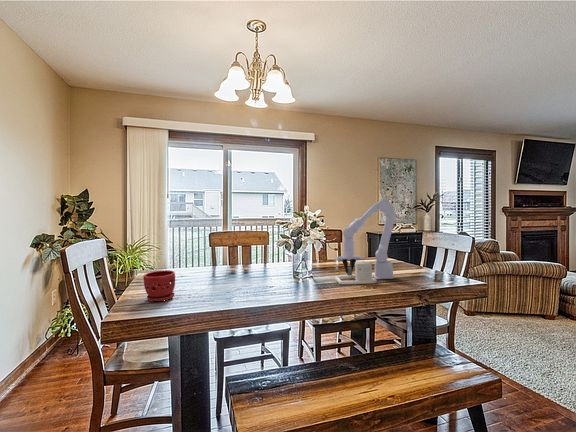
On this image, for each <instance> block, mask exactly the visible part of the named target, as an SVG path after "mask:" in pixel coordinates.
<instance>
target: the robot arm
mask: <svg viewBox="0 0 576 432" xmlns="http://www.w3.org/2000/svg"><path fill="white" fill-rule="evenodd" d="M380 210H381V211H382V212H383V214H384V215H385V220H384V225H383V226H384V227H383V230H382V234H381V237H380V241H379V245H378V248H377V250H375V260H374V275H373V274H372V278H374V279H376V280H388V279H389V280H391V279H393V280H394V265H393V264H394V263H393V262H392V261H388V257H389V256H388V249H389V243H390V239H391V236H392V231H393V228H394V223H395V219H396V215H397V214H396V212H395V210H394V208H393V205H392V203H391V202H390V201H389V200H388V199H386V198H381V199H380V200H378V202H376V203H374V204H373V205H372V206H370V207H369V208H368V209H367V210H366V212H364V214H363V215H362V216H361V217H356V218H354V219H352V222H351V223H350V224H348V225H347V228H345V229H343V233H342V235H343V255H342V256H336V257H335V260H336V261H341V262H342V264H343V266H344V270H345V273H346V274H347V273H348V267H351V268H352V272H353V270H354V268H355V262H357V260H358V261H362V259H363V257H362V255H355V251H354V250H355V248H354V247H355V245H354V244H355V241H354V235H355V234H357V232H359V231H360V230H361V229H362V228H363V227H364V226H365V222H366V221H367V220H368V219H369V218H370V217H371V216H372V215H373V214H374V213H377V212H380Z"/></svg>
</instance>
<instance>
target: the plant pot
mask: <svg viewBox="0 0 576 432" xmlns="http://www.w3.org/2000/svg"><path fill="white" fill-rule="evenodd" d="M142 277H143V284H144V285H143V287H144V289H145V290H144V291H145V293H146V294H147V297H146V300H147V301H149V302H151V301H163V302H164V300H167V301H169V300H168V299H170V300H171V298H172V299H173V298H174V297H175V292H174V289H175V286H176V272H175V271H174V270H167V269H166V270H156V271H150V272H148V273H145V274H144V275H143V276H142Z"/></svg>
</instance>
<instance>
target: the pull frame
mask: <svg viewBox="0 0 576 432" xmlns="http://www.w3.org/2000/svg"><path fill="white" fill-rule="evenodd" d="M333 277H334V280H335V282H337V283H338V284H339V285H361V284H364V285H365V284H378V279H376V278H375V277H372V280H360V281H355V280H352V279H355V275H353V271H352V268H351V267H350V266H348V273H346V274H345V275H334V276H333ZM342 279H343V280H342ZM346 279H348V280H346ZM349 279H350V280H349Z"/></svg>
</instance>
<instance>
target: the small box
mask: <svg viewBox="0 0 576 432" xmlns="http://www.w3.org/2000/svg"><path fill="white" fill-rule="evenodd" d="M372 269H373V264H372V262H370V261H356V262H355V265H354V274H355V278H354V279H355V280H354V281H360V280H372V278H373V276H372V275H373V270H372Z"/></svg>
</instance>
